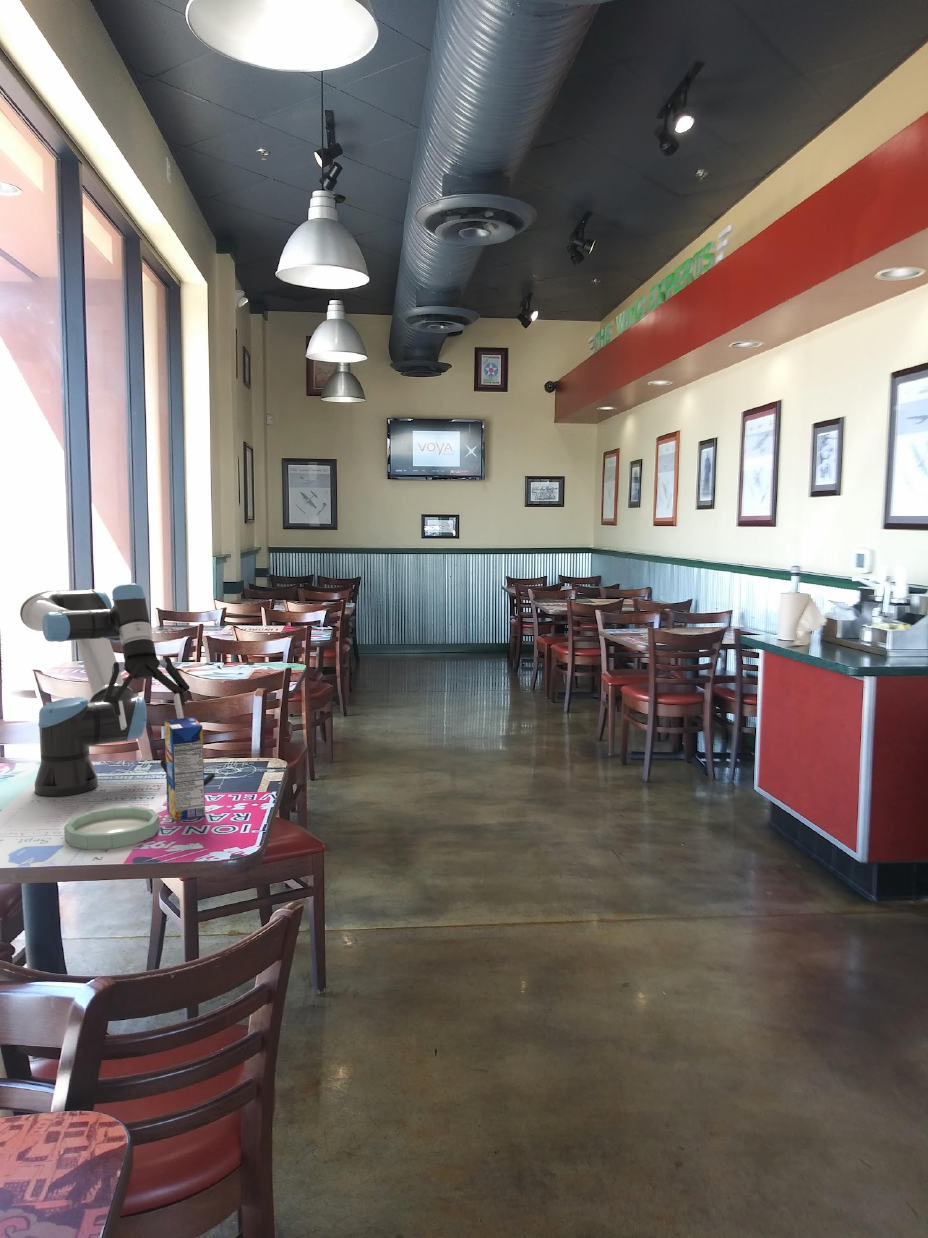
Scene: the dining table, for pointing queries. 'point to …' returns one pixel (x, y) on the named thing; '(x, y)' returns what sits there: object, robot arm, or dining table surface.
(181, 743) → the beverage box
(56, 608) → the robot arm
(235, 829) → the dining table surface
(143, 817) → the round tray
